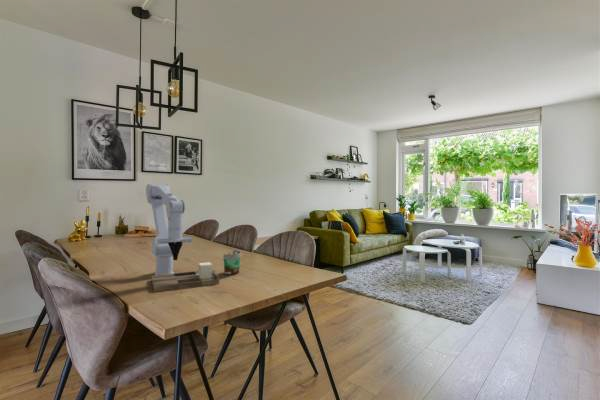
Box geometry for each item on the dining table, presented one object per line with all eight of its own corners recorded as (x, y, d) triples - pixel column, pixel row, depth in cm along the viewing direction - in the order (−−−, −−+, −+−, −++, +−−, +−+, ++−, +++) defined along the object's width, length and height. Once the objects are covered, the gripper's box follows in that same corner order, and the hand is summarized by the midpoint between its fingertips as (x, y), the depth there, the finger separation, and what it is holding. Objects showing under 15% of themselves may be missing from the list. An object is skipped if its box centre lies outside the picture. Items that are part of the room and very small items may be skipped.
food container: (235, 277, 144) (235, 255, 144) (223, 276, 145) (223, 254, 145) (245, 270, 156) (245, 250, 156) (233, 269, 157) (234, 249, 157)
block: (198, 274, 140) (198, 263, 140) (209, 273, 142) (209, 262, 142) (200, 277, 136) (200, 265, 135) (212, 275, 138) (212, 264, 138)
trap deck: (151, 280, 137) (151, 272, 137) (209, 273, 149) (209, 266, 149) (154, 292, 121) (154, 283, 121) (219, 283, 133) (219, 275, 133)
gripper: (157, 230, 128) (157, 263, 129) (194, 228, 135) (194, 259, 136) (156, 228, 135) (156, 259, 135) (191, 226, 141) (191, 256, 142)
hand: (175, 259), depth 136 cm, fingers closed
